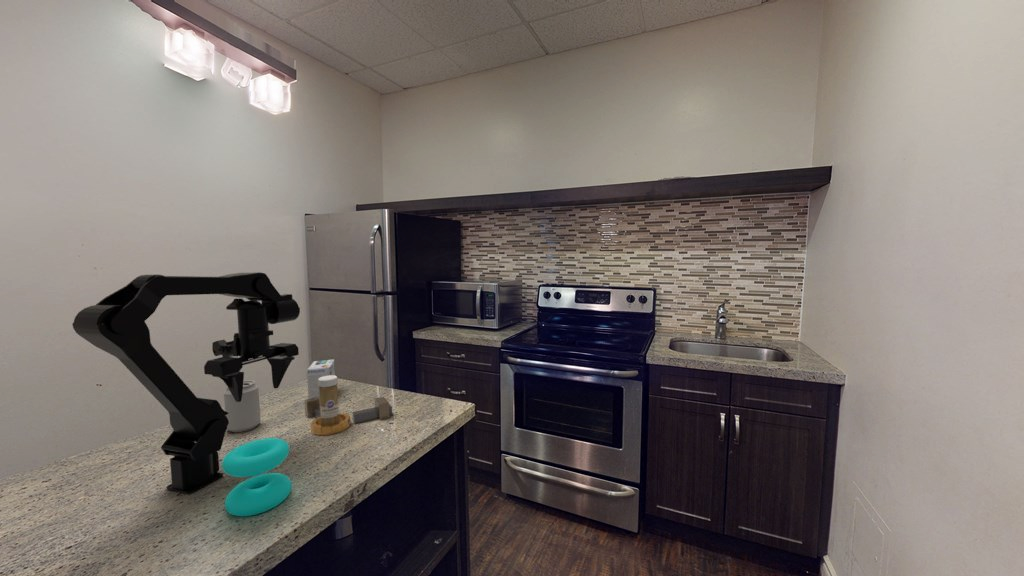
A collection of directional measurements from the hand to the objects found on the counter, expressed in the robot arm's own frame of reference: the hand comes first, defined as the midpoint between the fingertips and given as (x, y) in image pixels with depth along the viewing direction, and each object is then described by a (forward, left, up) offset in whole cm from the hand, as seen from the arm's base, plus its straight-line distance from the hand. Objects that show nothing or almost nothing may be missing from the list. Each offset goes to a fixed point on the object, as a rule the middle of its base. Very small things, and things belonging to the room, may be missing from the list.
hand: (258, 394), depth 87 cm
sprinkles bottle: (+14, -7, -13) cm, 20 cm away
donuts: (-15, -18, -13) cm, 27 cm away
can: (+8, +16, -13) cm, 22 cm away
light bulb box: (+33, +14, -13) cm, 38 cm away
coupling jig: (+18, -6, -13) cm, 23 cm away
